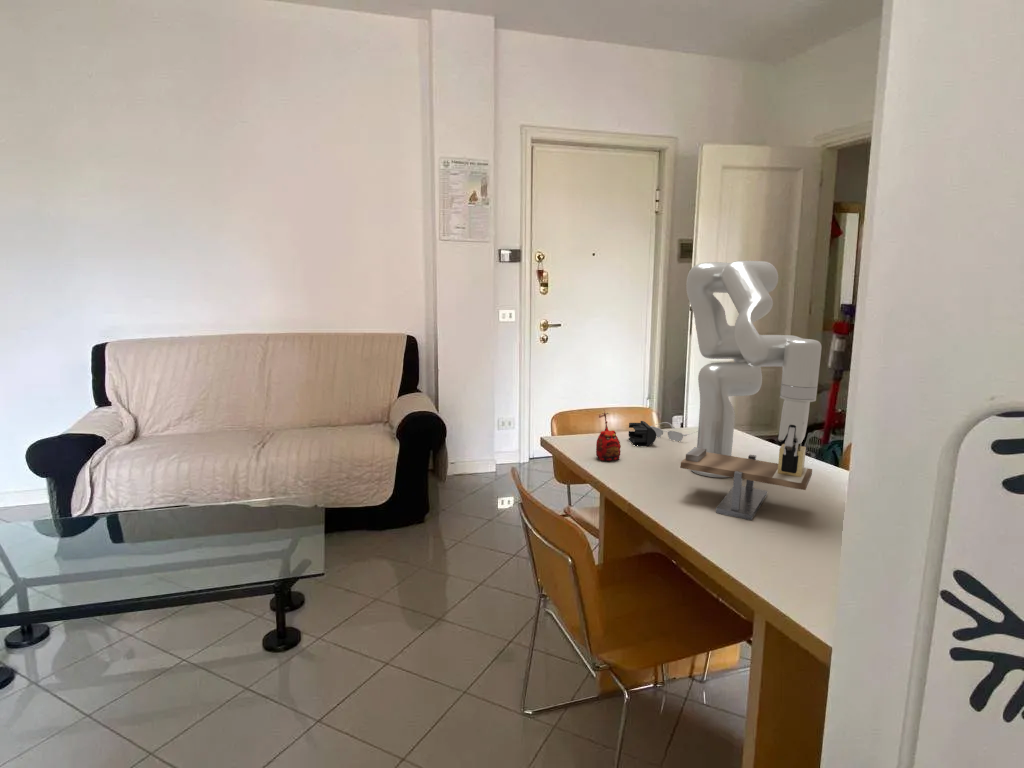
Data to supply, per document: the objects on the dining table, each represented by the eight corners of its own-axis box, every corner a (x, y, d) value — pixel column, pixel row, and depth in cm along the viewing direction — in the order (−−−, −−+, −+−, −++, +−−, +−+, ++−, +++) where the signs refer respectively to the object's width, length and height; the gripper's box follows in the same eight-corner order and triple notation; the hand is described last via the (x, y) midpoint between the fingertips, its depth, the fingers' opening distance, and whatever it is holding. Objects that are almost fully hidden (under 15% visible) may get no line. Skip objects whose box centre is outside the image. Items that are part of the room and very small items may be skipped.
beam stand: (715, 512, 140) (719, 471, 139) (734, 489, 157) (737, 451, 155) (751, 520, 136) (755, 477, 135) (766, 495, 153) (770, 456, 151)
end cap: (655, 447, 197) (657, 427, 196) (634, 447, 197) (635, 427, 195) (648, 439, 207) (649, 420, 206) (627, 439, 206) (628, 420, 205)
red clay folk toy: (603, 463, 178) (605, 414, 175) (590, 457, 184) (592, 409, 181) (624, 460, 181) (626, 412, 178) (611, 454, 187) (613, 407, 185)
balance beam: (679, 468, 147) (680, 456, 146) (695, 455, 159) (696, 444, 158) (805, 491, 132) (806, 478, 132) (812, 474, 144) (813, 462, 144)
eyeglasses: (645, 436, 213) (646, 425, 212) (671, 428, 226) (672, 418, 225) (684, 444, 202) (685, 433, 202) (709, 436, 215) (710, 425, 214)
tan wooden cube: (780, 467, 143) (782, 443, 142) (803, 471, 141) (805, 446, 140) (777, 473, 139) (779, 448, 138) (801, 477, 137) (803, 451, 136)
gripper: (785, 386, 146) (778, 457, 149) (774, 396, 132) (767, 475, 135) (820, 389, 142) (812, 462, 145) (812, 400, 128) (803, 481, 131)
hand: (790, 468), depth 140 cm, fingers closed on tan wooden cube, 5 cm apart
